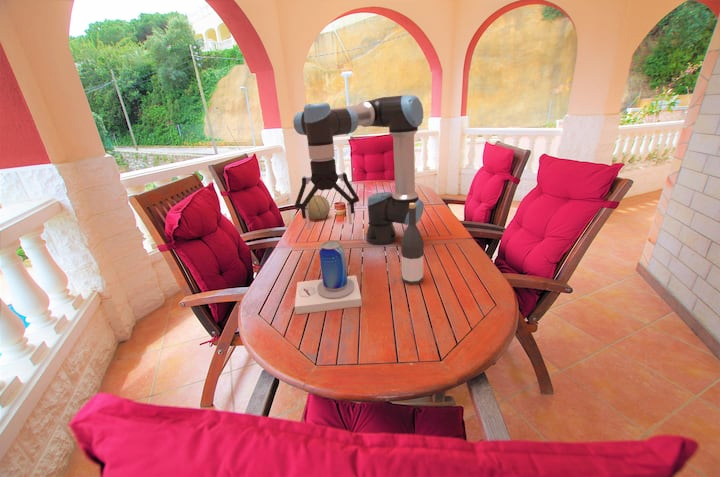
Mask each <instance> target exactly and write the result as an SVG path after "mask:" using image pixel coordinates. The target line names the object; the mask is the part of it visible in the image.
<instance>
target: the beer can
mask: <svg viewBox="0 0 720 477" xmlns="http://www.w3.org/2000/svg"><path fill="white" fill-rule="evenodd" d="M318 251H319V260H320V269H321V275H322V278H321V279H323V285H324V287H326V289H327V290H329V291H339V290H342V289H343V288H344V287H345V285H346V284H347V276H348V275H347V273H348V272H347V263H346V252H345V248H344V246H343V245H342V243H341V242H340V241H339V240H327V241H325V242H322V244H321V246H320V249H319V250H318Z"/></svg>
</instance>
